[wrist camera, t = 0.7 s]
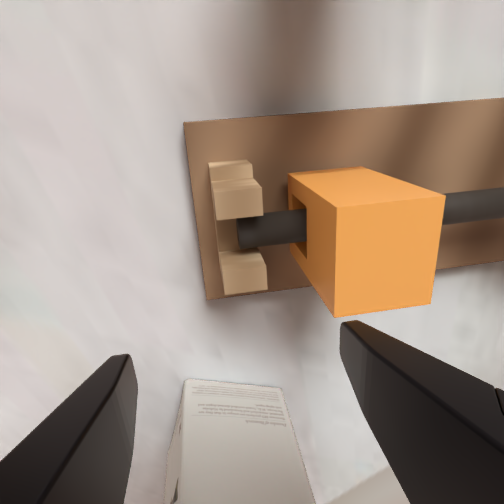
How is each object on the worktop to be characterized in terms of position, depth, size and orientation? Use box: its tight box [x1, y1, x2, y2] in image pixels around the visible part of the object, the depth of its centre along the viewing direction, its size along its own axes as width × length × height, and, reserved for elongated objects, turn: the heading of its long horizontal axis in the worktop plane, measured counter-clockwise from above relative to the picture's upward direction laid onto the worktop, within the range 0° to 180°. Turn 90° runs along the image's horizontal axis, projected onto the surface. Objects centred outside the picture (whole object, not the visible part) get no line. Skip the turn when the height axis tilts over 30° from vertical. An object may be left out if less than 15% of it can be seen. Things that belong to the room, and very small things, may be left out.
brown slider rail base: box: [183, 98, 504, 300], centre depth 19 cm, size 24×10×6 cm, turn 94°
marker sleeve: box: [288, 166, 446, 318], centre depth 16 cm, size 4×4×7 cm
